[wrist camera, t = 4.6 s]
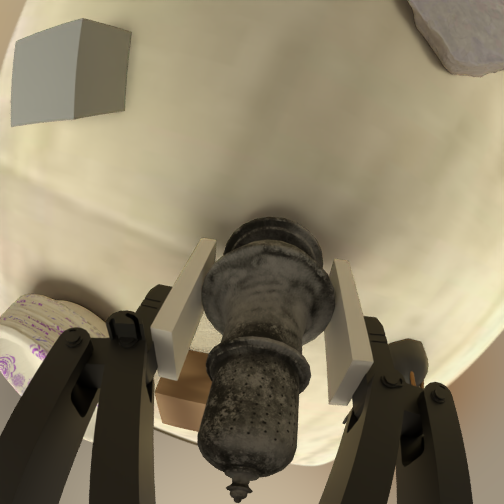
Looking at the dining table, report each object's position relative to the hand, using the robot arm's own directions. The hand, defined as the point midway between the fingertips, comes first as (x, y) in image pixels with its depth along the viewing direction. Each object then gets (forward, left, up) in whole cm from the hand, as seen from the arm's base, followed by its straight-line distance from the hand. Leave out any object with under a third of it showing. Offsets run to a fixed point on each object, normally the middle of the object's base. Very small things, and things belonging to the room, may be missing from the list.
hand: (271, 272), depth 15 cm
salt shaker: (0, 0, -1) cm, 1 cm away
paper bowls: (+16, +13, -4) cm, 21 cm away
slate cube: (+12, -10, -3) cm, 16 cm away
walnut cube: (+4, +13, -3) cm, 14 cm away
